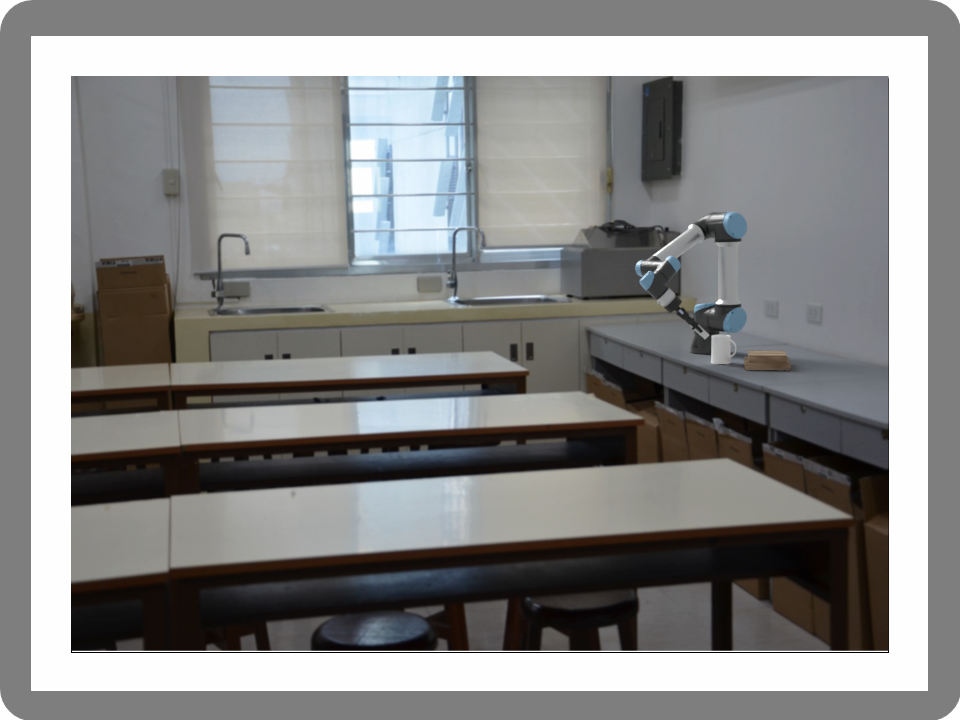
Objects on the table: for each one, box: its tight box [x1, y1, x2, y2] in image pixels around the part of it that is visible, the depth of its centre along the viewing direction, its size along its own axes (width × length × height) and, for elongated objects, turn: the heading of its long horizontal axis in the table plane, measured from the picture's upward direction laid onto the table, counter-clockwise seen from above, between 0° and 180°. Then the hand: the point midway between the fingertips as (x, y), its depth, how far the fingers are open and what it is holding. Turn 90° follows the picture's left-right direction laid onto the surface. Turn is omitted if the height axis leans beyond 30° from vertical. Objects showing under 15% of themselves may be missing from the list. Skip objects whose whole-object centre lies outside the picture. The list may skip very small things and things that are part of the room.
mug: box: [710, 334, 738, 365], centre depth 413 cm, size 12×8×12 cm
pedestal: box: [743, 349, 792, 372], centre depth 400 cm, size 19×18×6 cm
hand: (704, 335), depth 412 cm, fingers open, 13 cm apart
